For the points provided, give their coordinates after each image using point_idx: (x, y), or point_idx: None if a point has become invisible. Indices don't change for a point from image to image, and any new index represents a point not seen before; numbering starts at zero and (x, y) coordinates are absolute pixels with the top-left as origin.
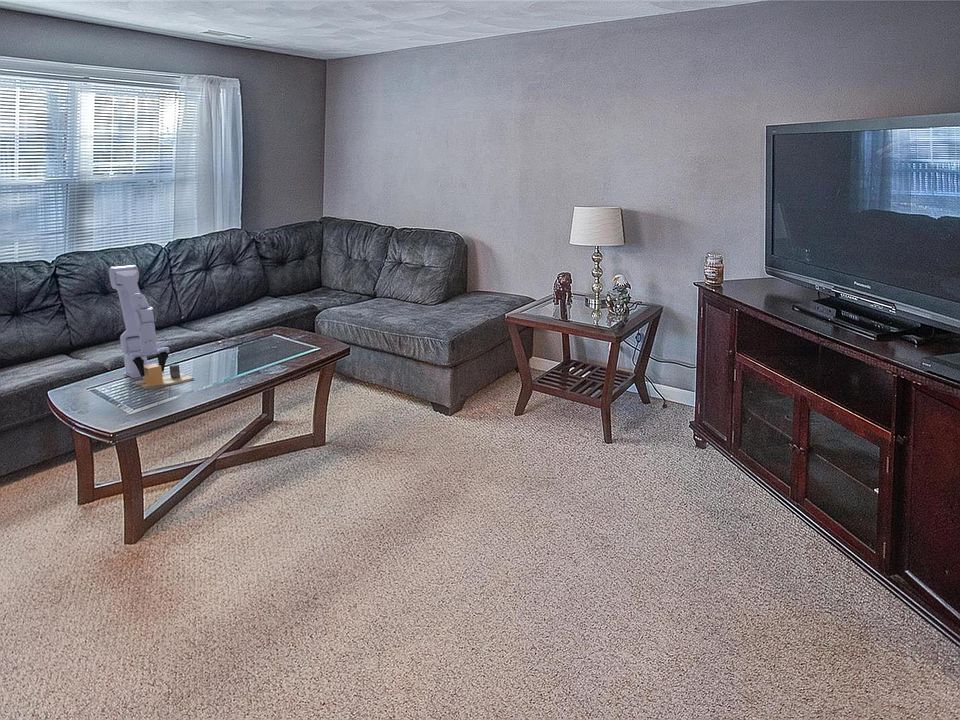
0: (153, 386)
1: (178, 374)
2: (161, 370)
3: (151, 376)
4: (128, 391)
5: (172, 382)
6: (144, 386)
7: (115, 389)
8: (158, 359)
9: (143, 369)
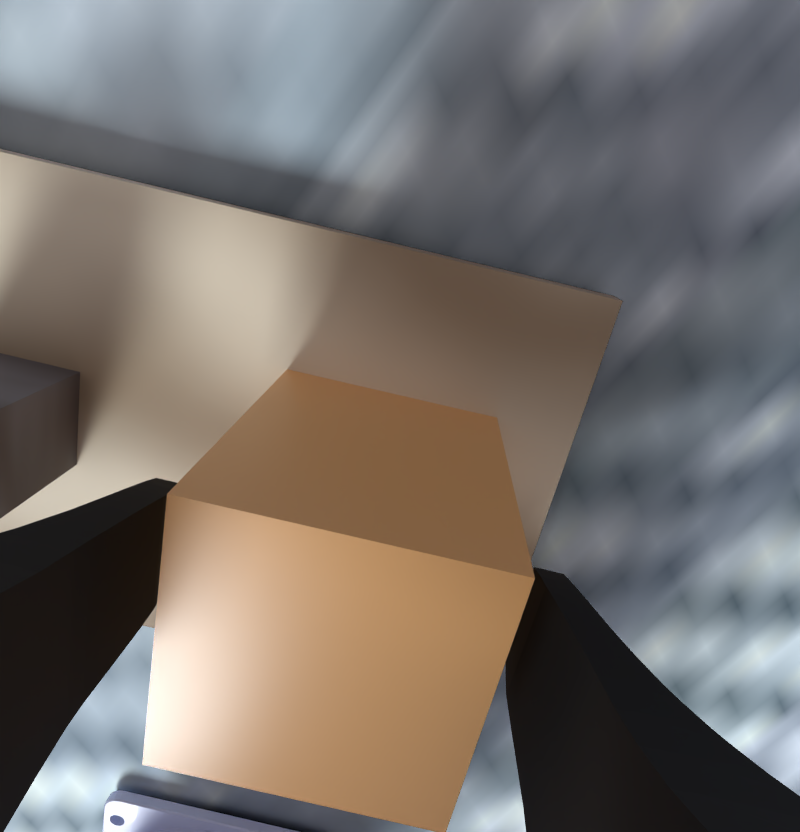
0: (525, 309)
1: None
2: (221, 446)
3: (459, 464)
4: (756, 523)
5: (213, 214)
6: (566, 451)
7: (739, 713)
8: (13, 788)
9: (588, 649)
